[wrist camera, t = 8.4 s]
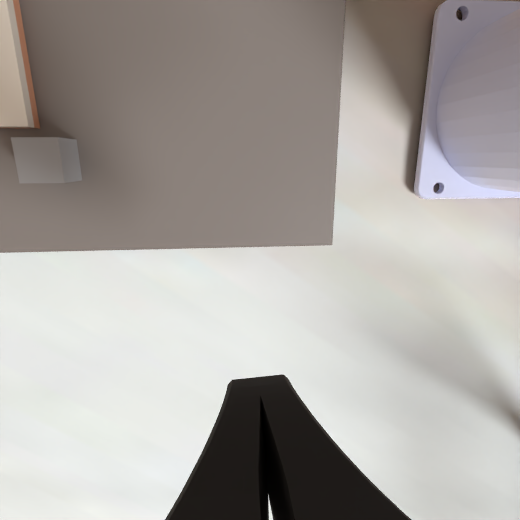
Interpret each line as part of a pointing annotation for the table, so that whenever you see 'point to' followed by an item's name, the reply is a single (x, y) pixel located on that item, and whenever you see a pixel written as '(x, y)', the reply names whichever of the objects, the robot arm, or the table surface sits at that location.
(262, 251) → the table surface
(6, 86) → the tile
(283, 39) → the board
